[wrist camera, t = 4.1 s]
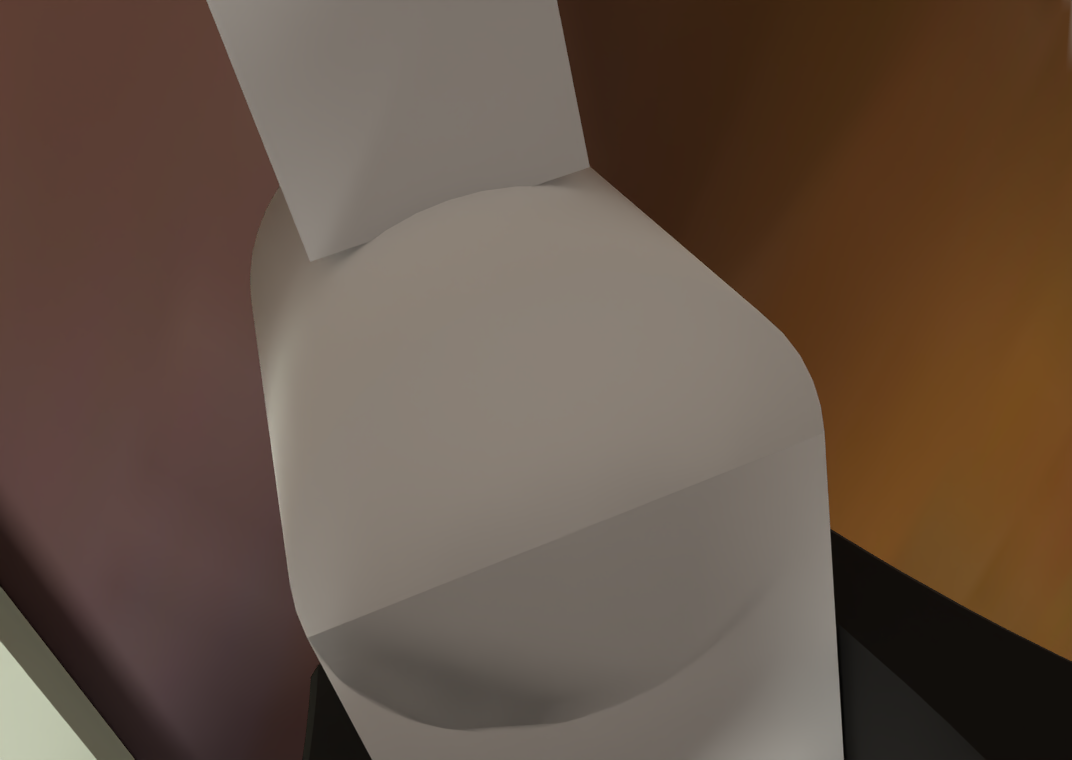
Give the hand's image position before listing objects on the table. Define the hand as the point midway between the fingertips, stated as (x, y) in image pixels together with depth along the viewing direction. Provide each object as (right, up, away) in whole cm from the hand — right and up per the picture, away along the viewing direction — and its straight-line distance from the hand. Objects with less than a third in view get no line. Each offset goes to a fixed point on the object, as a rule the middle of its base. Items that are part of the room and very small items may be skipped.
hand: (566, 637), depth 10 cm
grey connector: (-1, +2, +1) cm, 2 cm away
